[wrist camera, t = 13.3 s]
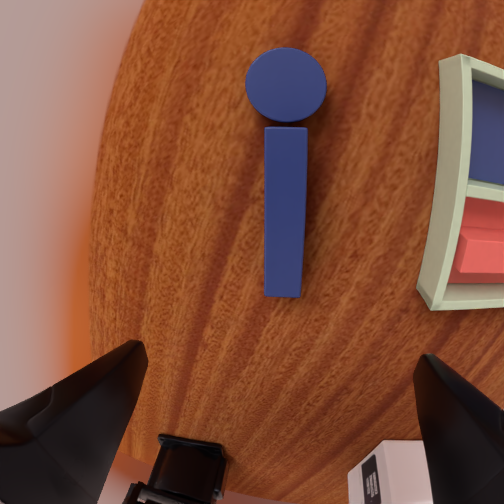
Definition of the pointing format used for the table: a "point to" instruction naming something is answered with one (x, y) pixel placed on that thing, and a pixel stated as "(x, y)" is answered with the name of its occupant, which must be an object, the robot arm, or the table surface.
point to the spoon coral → (479, 250)
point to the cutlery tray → (465, 183)
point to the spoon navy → (285, 158)
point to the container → (392, 475)
